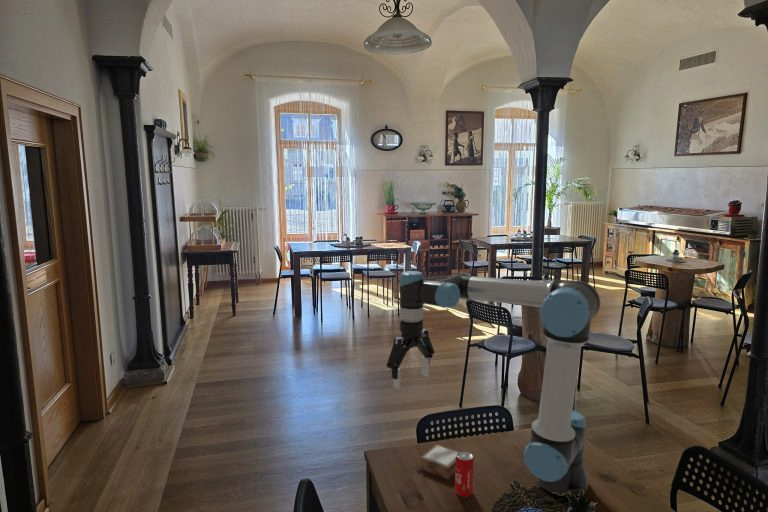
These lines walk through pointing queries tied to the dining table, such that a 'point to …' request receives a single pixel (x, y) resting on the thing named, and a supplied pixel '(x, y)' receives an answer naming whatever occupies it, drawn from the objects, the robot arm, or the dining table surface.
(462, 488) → the beverage can
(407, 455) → the dining table surface
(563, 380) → the robot arm
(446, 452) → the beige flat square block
